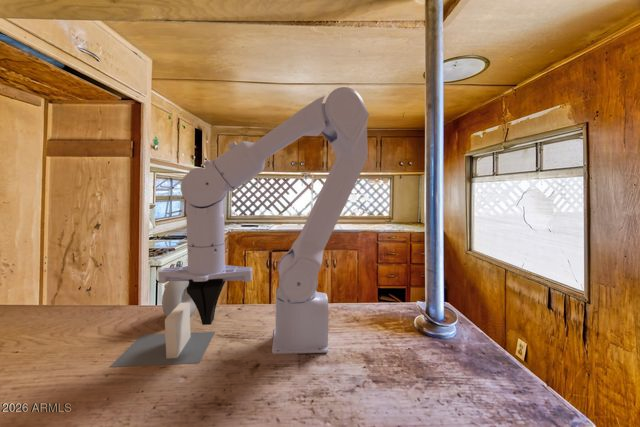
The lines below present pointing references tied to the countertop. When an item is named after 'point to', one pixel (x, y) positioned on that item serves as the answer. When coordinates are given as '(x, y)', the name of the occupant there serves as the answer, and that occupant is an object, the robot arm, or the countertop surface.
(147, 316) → the countertop surface
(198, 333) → the mat
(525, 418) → the countertop surface
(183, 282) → the donut
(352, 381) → the countertop surface
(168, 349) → the tile
